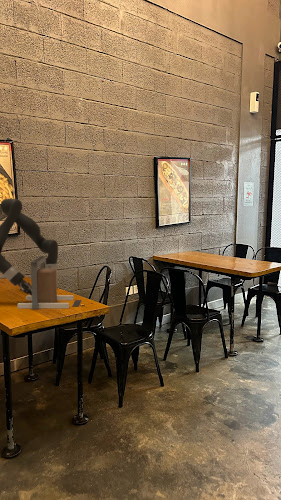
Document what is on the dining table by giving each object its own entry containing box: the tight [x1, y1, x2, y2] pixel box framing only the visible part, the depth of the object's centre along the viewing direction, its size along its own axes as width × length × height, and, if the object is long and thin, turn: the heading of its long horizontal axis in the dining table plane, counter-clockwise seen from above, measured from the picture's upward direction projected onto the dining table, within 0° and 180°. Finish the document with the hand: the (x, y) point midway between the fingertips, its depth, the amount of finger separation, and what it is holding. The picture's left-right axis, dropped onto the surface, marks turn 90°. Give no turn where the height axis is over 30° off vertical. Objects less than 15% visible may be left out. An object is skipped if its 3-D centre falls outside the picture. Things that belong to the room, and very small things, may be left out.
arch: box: [30, 255, 47, 310], centre depth 222 cm, size 24×3×26 cm, turn 2°
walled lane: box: [17, 294, 74, 309], centre depth 224 cm, size 20×28×2 cm
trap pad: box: [71, 299, 82, 308], centre depth 224 cm, size 14×4×1 cm, turn 2°
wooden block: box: [38, 268, 58, 303], centre depth 222 cm, size 10×10×20 cm
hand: (36, 296), depth 223 cm, fingers closed
